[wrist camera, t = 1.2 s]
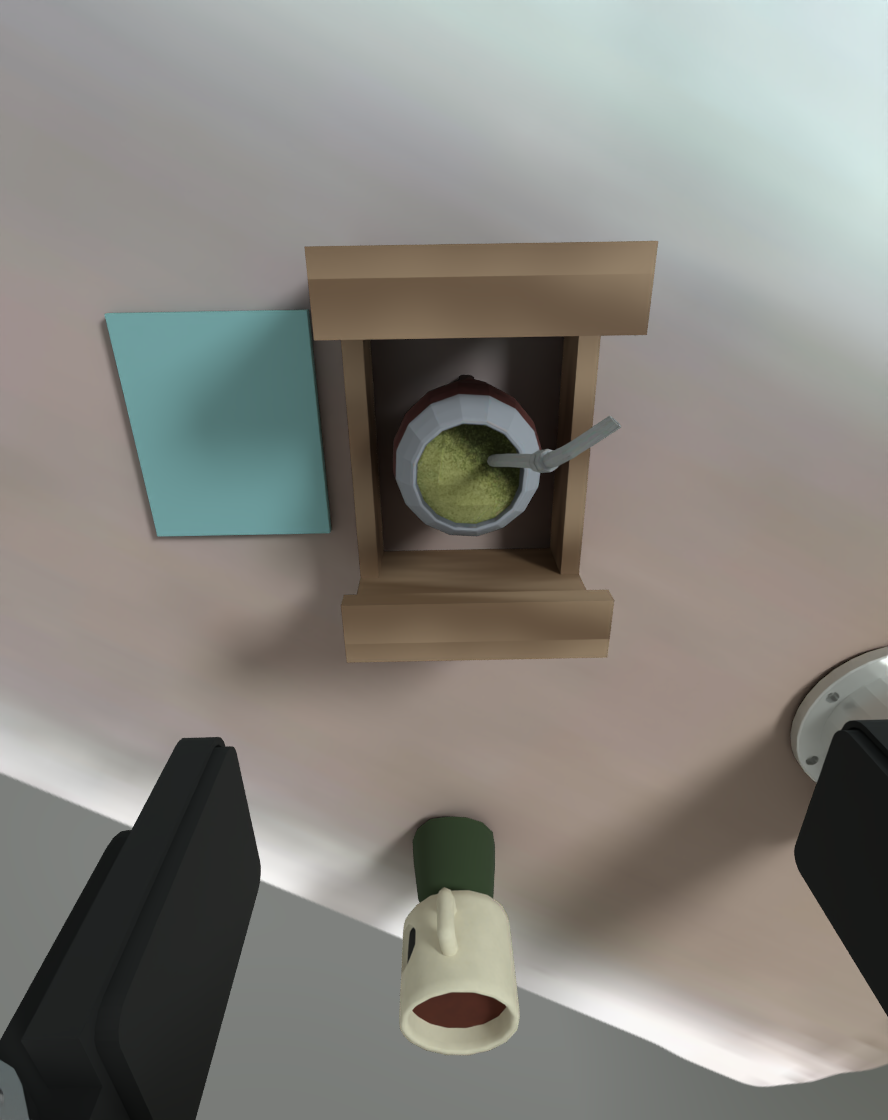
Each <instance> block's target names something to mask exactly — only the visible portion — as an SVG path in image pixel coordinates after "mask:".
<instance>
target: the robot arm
mask: <svg viewBox="0 0 888 1120" xmlns="http://www.w3.org/2000/svg"><path fill="white" fill-rule="evenodd" d="M790 737H791V748H792V750H793V753H794V756H795V759H796V760H797V761H798V763H799V764H800V766H801V767H802V769H803V770H804V771H805V773H806V774H807V775H808V776H809V777H810V778H811V779H812V780H813V781H815V782H816V783H817V784H816V787H815V790H814V793H813V796H812V798H811V801H810V804H809V807H808V810H807V813H806V816H805V819H804V822H803V824H802V827H801V830H800V833H799V836H798V839H797V842H796V845H795V849H794V855H795V861H796V864H797V867H798V870H799V872H800V873H801V875H802V877H803V878H804V880H805V882H806V883H807V885H808V887H809V888H810V890H811V892H812V893H813V895H814V896H815V898H816V900H817V901H818V903H819V905H820V906H821V908H822V910H823V911H824V913H825V915H826V916H827V918H828V919H829V921H830V923H831V924H832V926H833V928H834V929H835V931H836V933H837V934H838V936H839V937H840V939H841V941H842V942H843V944H844V946H845V947H846V949H847V951H848V952H849V954H850V955H851V957H852V959H853V960H854V962H855V964H856V965H857V967H858V969H859V970H860V972H861V973H862V975H863V977H864V978H865V980H866V982H867V983H868V985H869V987H870V988H871V990H872V992H873V993H874V995H875V996H876V998H877V1000H878V1001H879V1003H880V1005H881V1006H882V1008H883V1010H884V1011H885V1013H886V1014H887V1016H888V647H884V648H881V649H877V650H873V651H870V652H867V653H865V654H863V655H860V656H858V657H856V658H853V659H851V660H849V661H848V662H846V663H844V664H843V665H841V666H839V667H838V668H836V669H834V670H833V671H832V672H830V673H829V674H828V675H827V676H825V677H824V678H823V679H822V680H820V681H819V682H818V683H817V684H816V686H815V687H814V688H813V689H812V690H811V691H810V692H809V693H808V694H807V696H806V697H805V699H804V700H803V702H802V703H801V705H800V706H799V708H798V710H797V713H796V715H795V717H794V720H793V723H792V728H791V734H790ZM260 875H261V865H260V859H259V855H258V850H257V845H256V841H255V836H254V831H253V827H252V822H251V818H250V813H249V808H248V804H247V799H246V795H245V790H244V785H243V781H242V776H241V771H240V767H239V762H238V758H237V753H236V750H235V748H234V747H225V744H224V741H223V740H222V738H220V737H206V738H183V739H181V740H180V741H179V742H178V743H177V745H176V746H175V748H174V750H173V752H172V754H171V756H170V758H169V760H168V762H167V764H166V765H165V767H164V769H163V771H162V773H161V775H160V777H159V779H158V781H157V783H156V784H155V786H154V788H153V790H152V792H151V794H150V796H149V798H148V800H147V802H146V803H145V805H144V807H143V809H142V811H141V813H140V815H139V817H138V819H137V821H136V822H135V824H134V826H133V828H132V830H126V831H122V832H120V833H119V834H117V835H116V836H115V837H114V838H113V839H112V841H111V842H110V844H109V845H108V846H107V848H106V850H105V852H104V853H103V855H102V857H101V859H100V861H99V862H98V864H97V866H96V868H95V870H94V871H93V873H92V875H91V877H90V879H89V880H88V882H87V884H86V886H85V888H84V889H83V891H82V893H81V895H80V897H79V899H78V900H77V902H76V904H75V906H74V908H73V910H72V911H71V913H70V915H69V917H68V918H67V920H66V922H65V924H64V926H63V928H62V929H61V931H60V933H59V935H58V937H57V938H56V940H55V942H54V944H53V946H52V947H51V949H50V951H49V953H48V955H47V956H46V958H45V960H44V962H43V964H42V966H41V967H40V969H39V971H38V973H37V975H36V976H35V978H34V980H33V982H32V983H31V985H30V987H29V989H28V991H27V993H26V994H25V996H24V998H23V1000H22V1002H21V1004H20V1006H19V1007H18V1009H17V1011H16V1013H15V1014H14V1016H13V1018H12V1020H11V1021H10V1023H9V1025H8V1027H7V1029H6V1031H5V1032H4V1034H3V1036H2V1038H1V1040H0V1120H195V1119H196V1116H197V1112H198V1108H199V1105H200V1101H201V1097H202V1094H203V1090H204V1086H205V1083H206V1079H207V1075H208V1072H209V1068H210V1064H211V1060H212V1057H213V1053H214V1050H215V1046H216V1042H217V1039H218V1035H219V1031H220V1028H221V1024H222V1021H223V1017H224V1013H225V1010H226V1006H227V1002H228V999H229V995H230V991H231V988H232V984H233V980H234V977H235V973H236V969H237V966H238V962H239V958H240V955H241V951H242V947H243V944H244V940H245V936H246V933H247V929H248V925H249V921H250V918H251V914H252V910H253V907H254V903H255V900H256V896H257V892H258V888H259V883H260Z"/></svg>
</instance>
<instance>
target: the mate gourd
mask: <svg viewBox="0 0 888 1120" xmlns="http://www.w3.org/2000/svg"><path fill="white" fill-rule="evenodd" d="M619 428H621V425H620V424H619V423H618V422H617V421H616V420H615V419H614V418H612V417H611V416H608V417H607V418H605V419H604V420H602V421H601V422H599V423H598V424H596V425H595V426H593V427H592V428H590V429H589V430H587V431H586V432H584V433H583V434H581V435H580V436H578V437H577V438H575V439H574V440H572V441H571V442H569V443H567V444H566V445H564V446H562V447H560V448H558V449H556V450H554V451H553V450H550V449H544V450H542V449H541V445H540V442H539V438H538V435H537V431H536V428H535V424H534V422H533V420H532V419H531V418H530V417H529V415H528V414H527V413H526V412H525V410H524V409H523V408H522V407H521V405H520V404H519V403H518V402H517V400H516V399H515V398H514V397H512V396H510V395H508V394H506V393H505V392H503V391H501V390H499V389H497V388H495V387H493V386H491V385H489V384H487V383H486V382H482V381H479V380H475V379H474V377H473V376H471V375H461V376H459V381H456V382H453V383H450V384H447V385H445V386H442V387H439V388H436V389H434V390H431V391H429V392H428V393H427V394H426V395H425V396H423V397H422V398H421V399H420V400H419V401H418V402H417V403H416V404H415V405H414V406H413V407H412V408H411V409H410V410H409V411H408V412H406V414H405V416H404V418H403V420H402V423H401V425H400V427H399V429H398V431H397V434H396V436H395V438H394V442H393V474H394V477H395V479H396V482H397V484H398V487H399V489H400V492H401V494H402V497H403V499H404V501H405V503H406V505H407V506H408V507H409V508H410V509H411V510H412V511H413V512H414V513H415V514H416V515H417V516H418V517H419V518H420V519H421V520H422V521H423V522H424V523H425V524H426V525H429V526H431V527H433V528H435V529H438V530H440V531H442V532H445V533H447V534H449V535H463V536H479V535H482V534H485V533H488V532H492V531H495V530H498V529H501V528H503V527H505V526H506V525H507V524H508V523H510V522H511V521H512V520H513V519H515V518H516V517H517V516H518V515H520V514H521V513H522V512H523V511H524V510H525V509H526V507H527V505H528V504H529V502H530V500H531V498H532V497H533V495H534V493H535V491H536V490H537V488H538V486H539V478H540V473H545V472H546V473H547V472H552V471H553V470H555V469H556V468H558V466H559V465H561V464H563V463H565V462H567V461H569V460H571V459H573V458H575V457H576V456H577V455H579V454H580V453H582V452H584V451H585V450H587V449H588V448H590V447H591V446H593V445H595V444H596V443H598V442H599V441H601V440H602V439H604V438H606V437H607V436H609V435H610V434H612V433H613V432H615V431H616V430H618V429H619Z"/></svg>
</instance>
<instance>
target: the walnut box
mask: <svg viewBox="0 0 888 1120" xmlns="http://www.w3.org/2000/svg"><path fill="white" fill-rule="evenodd" d="M657 247H658V241H626V242H564V243H501V244H438V245H376V246H313V247H305V256H306V266H307V276H308V286H309V296H310V305H311V315H312V325H313V335H314V340H341V348H342V360H343V372H344V384H345V396H346V408H347V420H348V432H349V444H350V456H351V468H352V480H353V492H354V504H355V516H356V528H357V540H358V552H359V564H360V576H361V579H360V583H359V588H358V592H357V595H344V597H343V600H342V604H341V611H342V621H343V631H344V641H345V651H346V660H347V663H351V662H401V661H452V660H502V659H552V658H602V657H607V655H608V647H609V639H610V631H611V622H612V614H613V606H614V599H613V598H612V596H611V594H610V592H609V590H586V588H585V586H584V584H583V582H582V580H581V578H580V576H579V567H580V556H581V545H582V534H583V523H584V512H585V501H586V490H587V479H588V468H589V457H590V448H588V449H587V450H585V451H584V452H582V453H580V454H579V455H577V456H576V457H575V458H573V459H571V460H569V461H567V462H565V463H563V464H561V465H559V466H558V468H556V469H555V478H554V493H553V508H552V523H551V538H550V548H530V549H477V550H424V551H384V547H383V531H382V515H381V500H380V484H379V468H378V452H377V437H376V421H375V405H374V389H373V373H372V358H371V342H370V339H427V338H487V337H546V336H564V343H563V358H562V373H561V388H560V403H559V418H558V433H557V448H556V449H558V448H560V447H562V446H564V445H566V444H567V443H569V442H571V441H572V440H574V439H575V438H577V437H578V436H580V435H581V434H583V433H584V432H586V431H587V430H589V429H590V428H592V425H593V414H594V403H595V392H596V381H597V370H598V359H599V348H600V337H601V336H605V335H647V328H648V320H649V312H650V304H651V296H652V287H653V279H654V271H655V263H656V255H657Z"/></svg>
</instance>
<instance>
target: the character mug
mask: <svg viewBox="0 0 888 1120" xmlns="http://www.w3.org/2000/svg"><path fill="white" fill-rule="evenodd" d="M413 856H414V868H415V876H416V884H417V892H418V899H419V902H420V903H419V904H417V906H416V907H415V908H414V909H413V910H412V911H411V913H410V914H409V915H408V917H407V918H406V920H405V923H404V930H403V948H402V972H401V990H400V1015H399V1017H400V1018H399V1023H400V1030H401V1032H402V1033H403V1035H404V1036H405V1037H406V1038H407V1039H408V1040H409V1041H410V1042H411V1043H412V1044H415V1045H416V1046H418V1047H420V1048H422V1049H424V1050H426V1051H431V1052H435V1053H440V1054H444V1055H472V1054H476V1053H481V1052H485V1051H490V1050H492V1049H494V1048H496V1047H498V1046H500V1045H501V1044H503V1043H505V1042H507V1041H508V1040H509V1039H510V1038H511V1037H512V1035H513V1034H514V1033H515V1032H516V1031H517V1029H518V1023H519V1018H520V1014H519V1003H518V994H517V985H516V976H515V967H514V959H513V950H512V941H511V932H510V924H509V919H508V916H507V914H506V912H505V910H504V909H503V907H502V905H501V904H500V903H498V902H497V901H496V900H494V899H493V891H494V873H495V844H494V838H493V832H492V831H491V830H490V829H489V828H488V827H487V826H486V825H484V824H483V823H482V822H479V821H476V820H473V819H470V818H466V817H442V818H435V819H430V820H428V821H427V822H426V823H425V824H423V825H422V826H421V827H419V828H418V829H417V832H416V834H415V836H414V838H413Z"/></svg>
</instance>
